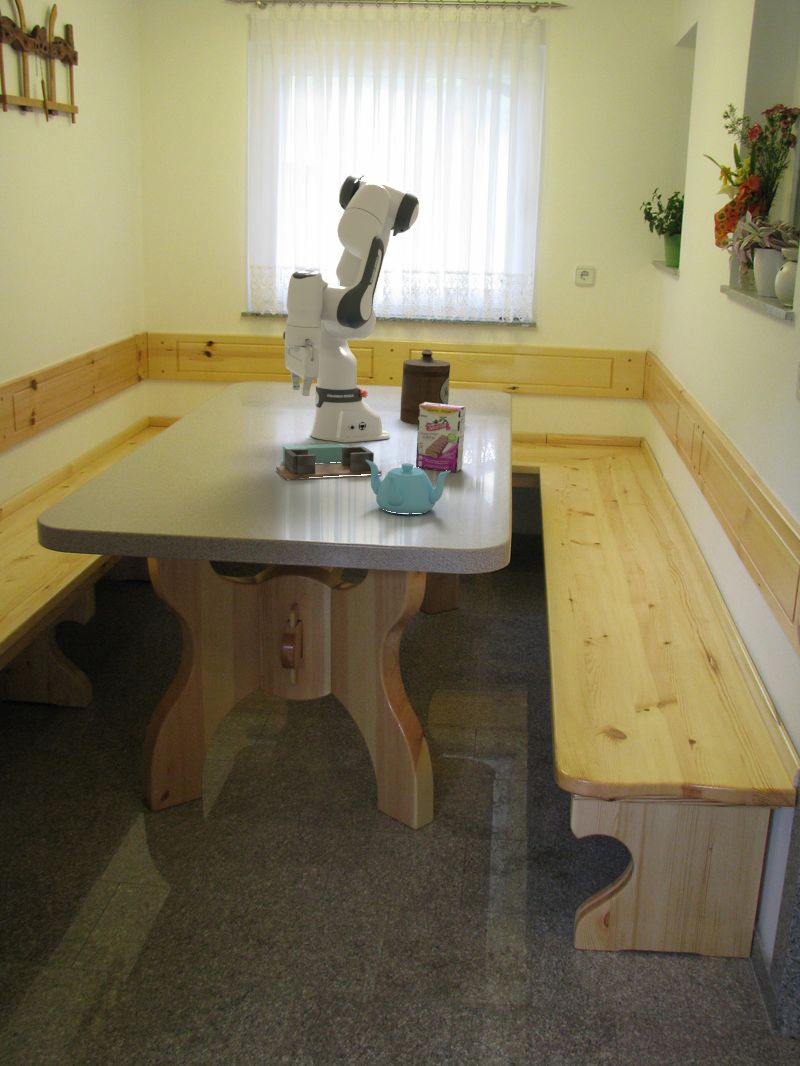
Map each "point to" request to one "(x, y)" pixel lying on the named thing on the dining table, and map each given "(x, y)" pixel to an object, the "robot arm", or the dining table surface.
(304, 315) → the robot arm
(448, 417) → the candy bar box
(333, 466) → the sharpening stone holder
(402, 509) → the teapot
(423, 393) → the wooden container
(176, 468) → the dining table surface
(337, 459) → the slat
